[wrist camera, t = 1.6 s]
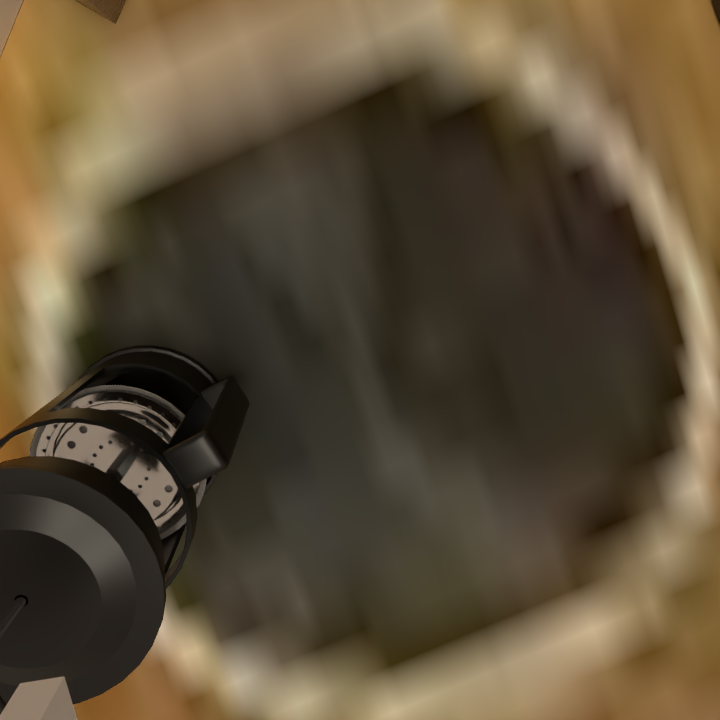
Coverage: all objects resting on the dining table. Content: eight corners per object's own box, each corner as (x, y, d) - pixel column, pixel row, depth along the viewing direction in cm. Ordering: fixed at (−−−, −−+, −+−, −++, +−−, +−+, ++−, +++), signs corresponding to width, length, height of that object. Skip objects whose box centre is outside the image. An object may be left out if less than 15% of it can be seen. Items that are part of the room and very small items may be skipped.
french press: (116, 530, 40) (-146, 961, 17) (24, 399, 37) (-414, 698, 15) (288, 441, 39) (247, 768, 17) (205, 301, 37) (28, 462, 14)
